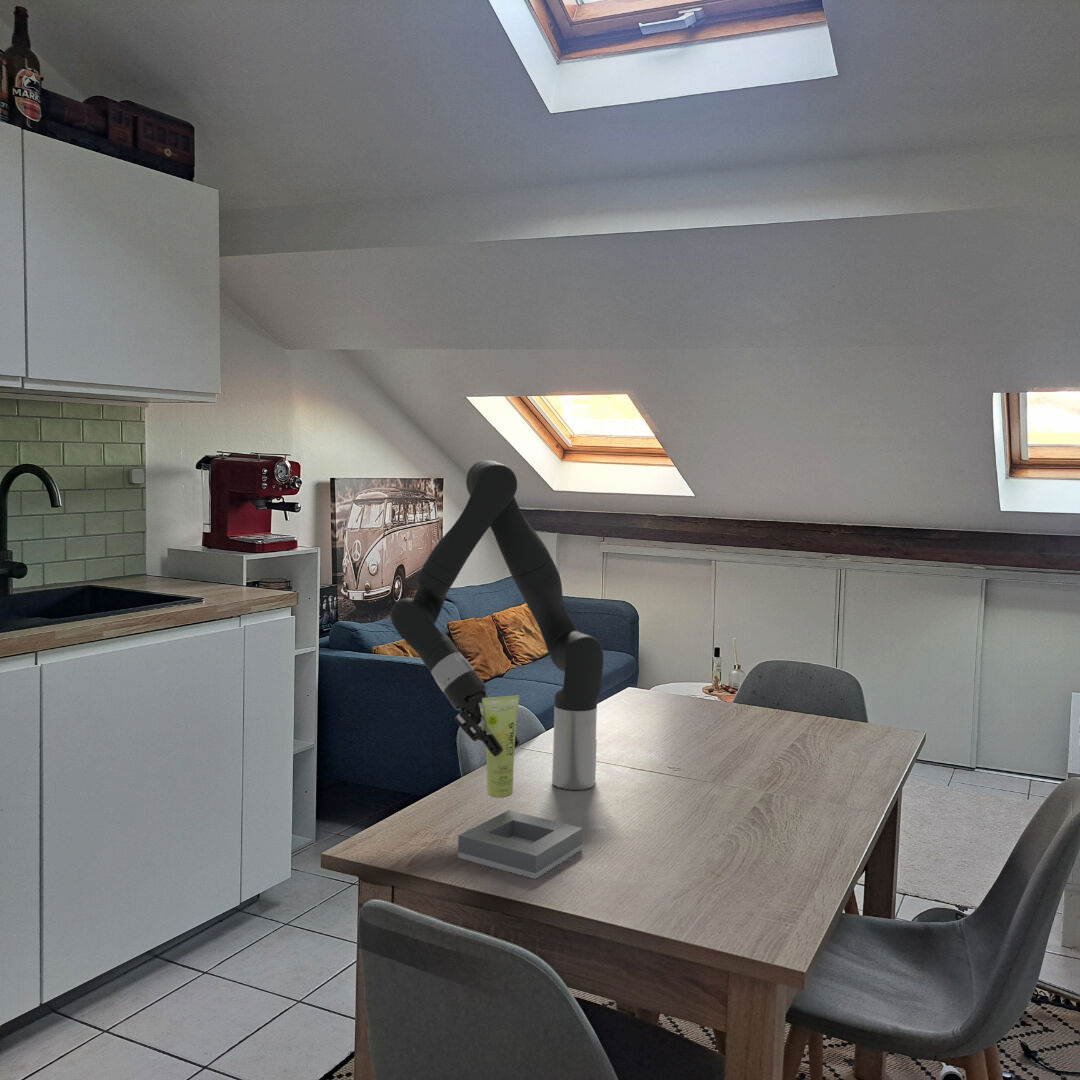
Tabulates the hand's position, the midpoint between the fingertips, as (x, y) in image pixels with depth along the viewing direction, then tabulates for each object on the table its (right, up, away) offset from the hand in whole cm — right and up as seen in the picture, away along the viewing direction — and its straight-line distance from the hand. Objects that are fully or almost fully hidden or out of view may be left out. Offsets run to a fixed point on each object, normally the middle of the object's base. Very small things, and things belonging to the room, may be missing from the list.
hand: (507, 749), depth 193 cm
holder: (+3, -15, -15) cm, 22 cm away
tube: (-2, -9, +2) cm, 10 cm away
